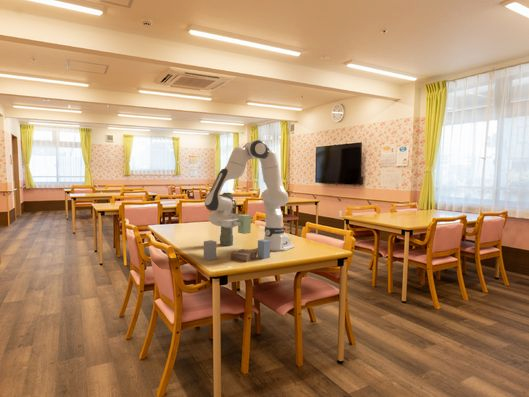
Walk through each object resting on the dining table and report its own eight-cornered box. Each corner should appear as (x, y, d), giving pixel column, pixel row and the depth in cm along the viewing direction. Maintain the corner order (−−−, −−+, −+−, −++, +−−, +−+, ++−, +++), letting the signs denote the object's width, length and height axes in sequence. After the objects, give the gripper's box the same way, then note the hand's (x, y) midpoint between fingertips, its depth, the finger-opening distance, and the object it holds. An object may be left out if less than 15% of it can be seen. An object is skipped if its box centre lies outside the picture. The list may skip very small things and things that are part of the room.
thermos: (236, 245, 230) (236, 193, 227) (218, 246, 228) (218, 193, 225) (234, 243, 239) (235, 192, 236) (217, 243, 236) (218, 192, 234)
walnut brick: (241, 255, 205) (241, 249, 204) (256, 258, 200) (256, 251, 200) (230, 260, 194) (230, 253, 194) (246, 262, 189) (246, 255, 189)
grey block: (210, 257, 198) (210, 240, 197) (216, 259, 194) (216, 241, 194) (203, 258, 194) (203, 241, 193) (209, 260, 191) (209, 242, 190)
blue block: (263, 256, 204) (263, 239, 203) (269, 257, 200) (270, 240, 200) (257, 257, 200) (257, 240, 199) (263, 259, 197) (264, 241, 196)
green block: (244, 231, 199) (244, 214, 199) (250, 233, 196) (250, 215, 195) (237, 232, 196) (238, 215, 195) (244, 233, 192) (244, 216, 192)
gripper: (215, 216, 196) (231, 219, 187) (241, 214, 211) (258, 216, 202) (215, 227, 197) (231, 230, 188) (241, 224, 212) (257, 227, 202)
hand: (245, 223), depth 195 cm, fingers closed on green block, 5 cm apart
